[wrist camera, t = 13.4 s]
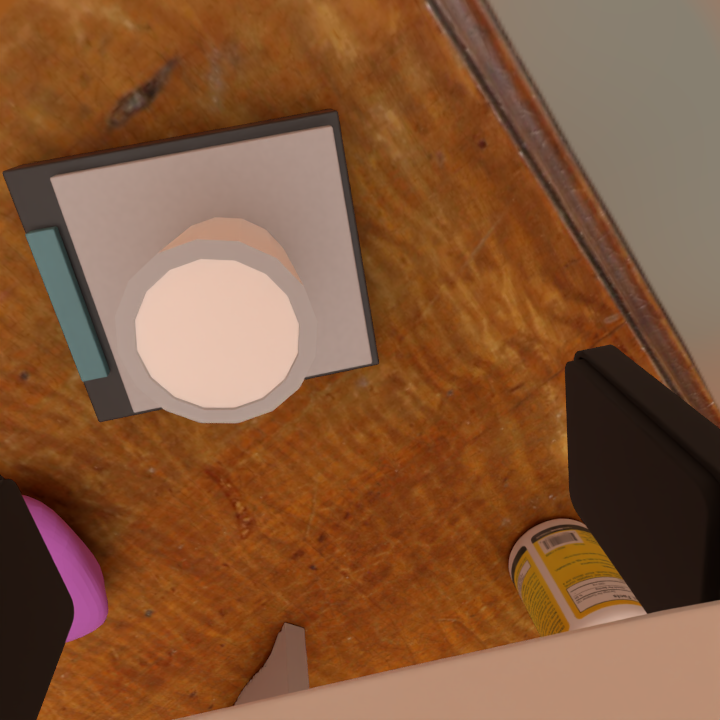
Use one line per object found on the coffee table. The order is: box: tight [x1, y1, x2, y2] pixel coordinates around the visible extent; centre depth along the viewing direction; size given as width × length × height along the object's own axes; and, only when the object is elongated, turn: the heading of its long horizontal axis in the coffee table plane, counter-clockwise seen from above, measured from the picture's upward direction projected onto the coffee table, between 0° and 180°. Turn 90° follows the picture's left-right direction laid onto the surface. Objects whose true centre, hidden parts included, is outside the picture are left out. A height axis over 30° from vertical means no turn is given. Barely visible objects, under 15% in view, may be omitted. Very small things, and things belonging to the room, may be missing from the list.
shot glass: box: [115, 217, 317, 423], centre depth 25 cm, size 7×7×7 cm
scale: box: [3, 109, 379, 422], centre depth 29 cm, size 14×12×3 cm
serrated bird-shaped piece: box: [235, 623, 309, 706], centre depth 40 cm, size 6×1×10 cm
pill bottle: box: [509, 519, 647, 637], centre depth 36 cm, size 6×6×11 cm
